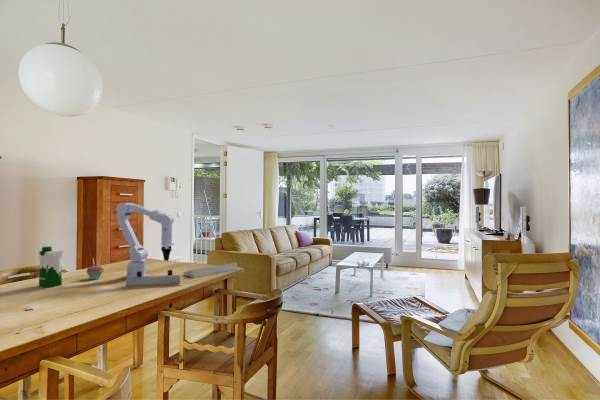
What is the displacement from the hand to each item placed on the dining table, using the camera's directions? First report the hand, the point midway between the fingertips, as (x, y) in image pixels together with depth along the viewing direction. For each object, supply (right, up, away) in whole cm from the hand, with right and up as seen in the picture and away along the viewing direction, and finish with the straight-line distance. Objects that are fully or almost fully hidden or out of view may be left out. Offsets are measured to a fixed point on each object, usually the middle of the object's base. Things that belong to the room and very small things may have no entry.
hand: (166, 259), depth 203 cm
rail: (+1, -10, -19) cm, 21 cm away
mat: (+1, -10, -19) cm, 21 cm away
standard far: (+5, -11, -7) cm, 13 cm away
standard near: (-10, -10, -13) cm, 19 cm away
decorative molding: (+22, -12, +18) cm, 31 cm away
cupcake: (-38, -10, -6) cm, 39 cm away
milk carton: (-50, -10, -24) cm, 56 cm away
